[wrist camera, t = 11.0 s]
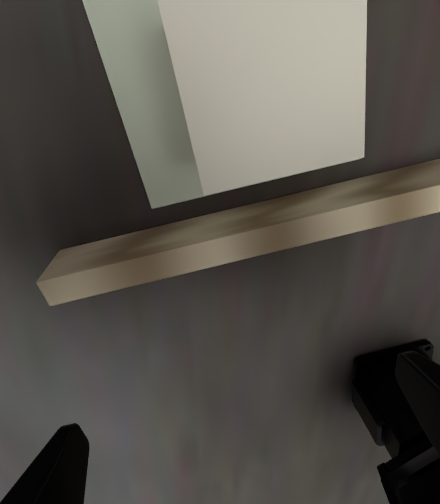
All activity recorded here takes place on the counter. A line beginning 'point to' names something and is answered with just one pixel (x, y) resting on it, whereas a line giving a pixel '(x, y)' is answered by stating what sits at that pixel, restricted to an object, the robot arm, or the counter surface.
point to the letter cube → (268, 85)
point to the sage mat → (147, 97)
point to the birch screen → (242, 232)
